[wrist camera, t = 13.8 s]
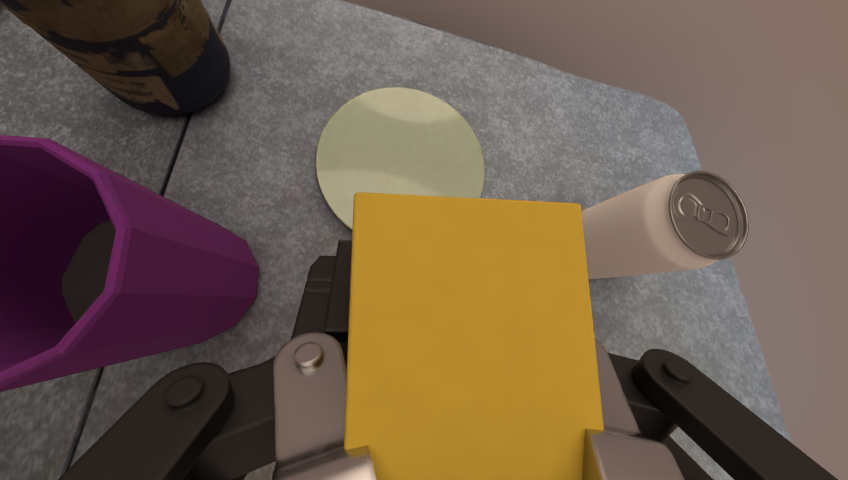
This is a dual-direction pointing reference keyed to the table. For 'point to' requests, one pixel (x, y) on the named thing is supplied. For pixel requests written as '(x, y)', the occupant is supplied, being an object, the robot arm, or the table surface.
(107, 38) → the canister
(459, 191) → the plate
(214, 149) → the table surface
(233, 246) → the mug
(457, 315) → the sponge
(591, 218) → the can
